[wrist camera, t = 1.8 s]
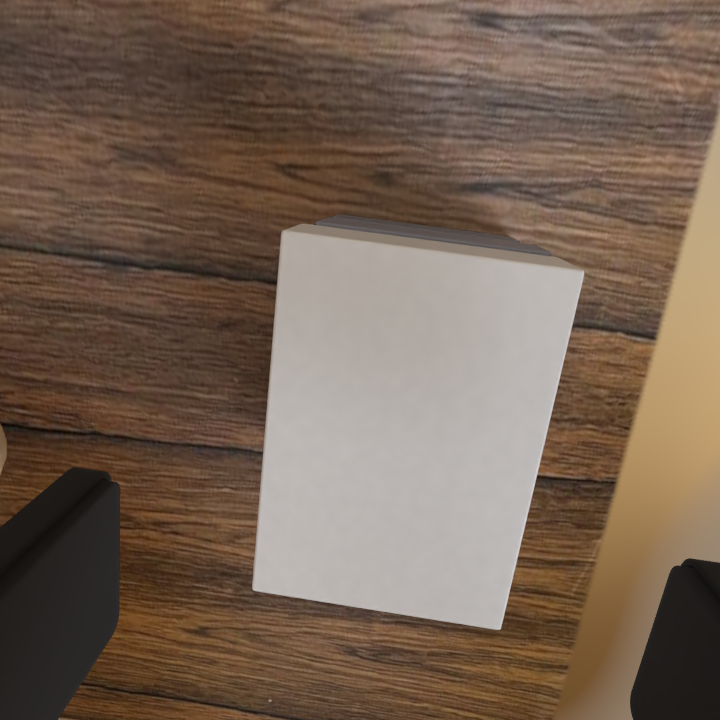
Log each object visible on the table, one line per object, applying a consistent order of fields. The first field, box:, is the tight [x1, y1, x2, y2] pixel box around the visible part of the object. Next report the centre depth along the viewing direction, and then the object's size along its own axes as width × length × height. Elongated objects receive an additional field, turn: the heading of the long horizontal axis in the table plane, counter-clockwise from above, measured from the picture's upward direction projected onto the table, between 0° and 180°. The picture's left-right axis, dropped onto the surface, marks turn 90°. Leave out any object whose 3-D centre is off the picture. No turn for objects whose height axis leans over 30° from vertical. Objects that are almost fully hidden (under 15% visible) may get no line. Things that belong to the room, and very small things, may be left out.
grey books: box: [315, 214, 552, 256], centre depth 20 cm, size 10×7×6 cm, turn 173°
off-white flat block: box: [252, 223, 584, 630], centre depth 16 cm, size 10×7×2 cm
